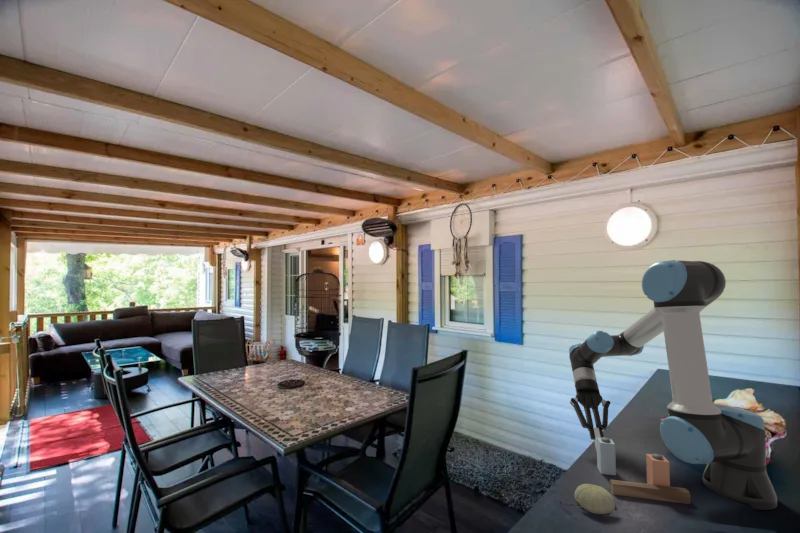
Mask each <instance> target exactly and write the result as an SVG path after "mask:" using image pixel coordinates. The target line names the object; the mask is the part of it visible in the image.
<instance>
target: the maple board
mask: <svg viewBox="0 0 800 533" xmlns="http://www.w3.org/2000/svg"><path fill="white" fill-rule="evenodd" d="M609 491H611V493H612V494H611V495H614V496H615V495H617V496H622V497H623V496H625V497H631V498H639V499H647V500H655V501H661V502H662V501H664V502H671V503H680V504H685V505H686V504H687V505H691V492H690V491H689V490H688V489H687V488H686V487H685V488H684V487H678V486H671V485H670V486H661V485H653V484H647V483H644V482H635V481H626V480H617V479H609Z"/></svg>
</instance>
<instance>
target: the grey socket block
mask: <svg viewBox="0 0 800 533" xmlns="http://www.w3.org/2000/svg"><path fill="white" fill-rule="evenodd" d="M616 461H617V460H616V444H615V442H614V441H613V439H612V438H609V437H605V436H604V437H601V438H597V451H596V468H597V469H598V471H599V473H600V474H601V475H609V476H617V468H616V467H617V466H616V464H617V463H616Z"/></svg>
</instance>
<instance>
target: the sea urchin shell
mask: <svg viewBox="0 0 800 533" xmlns="http://www.w3.org/2000/svg"><path fill="white" fill-rule="evenodd" d="M573 495H574V500H575V501H576V502H577V503H578V504H577V505H578V506H579V507H580V508H582V509H583V508H584V510H586V511H587V512H588V513H592V514H593V515H594V514H595V515H604V514H605V515H607V514H611V513H612V512H614V511H615V509H616V502H615V499H614V497H613V494H611V493H610V492H609V491H608V490H607V489H606V488H604V487H603V486H600V485H596V484H592V483H583V484H580V485H578V486H577V487H576V489H575V491H574V494H573Z"/></svg>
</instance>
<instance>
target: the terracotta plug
mask: <svg viewBox="0 0 800 533" xmlns="http://www.w3.org/2000/svg"><path fill="white" fill-rule="evenodd" d="M645 460H646V462H645V463H646V484H653V485H661V486H670V487H671V478H670V477H671V476H670V461H669V460H668V459H667V458H666V457H665V456H664V455H663V454H659V453H645Z"/></svg>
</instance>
